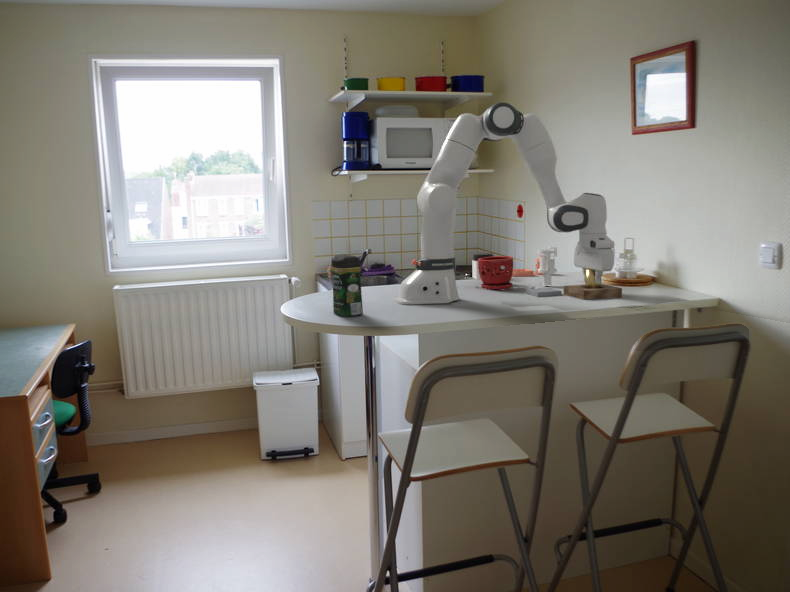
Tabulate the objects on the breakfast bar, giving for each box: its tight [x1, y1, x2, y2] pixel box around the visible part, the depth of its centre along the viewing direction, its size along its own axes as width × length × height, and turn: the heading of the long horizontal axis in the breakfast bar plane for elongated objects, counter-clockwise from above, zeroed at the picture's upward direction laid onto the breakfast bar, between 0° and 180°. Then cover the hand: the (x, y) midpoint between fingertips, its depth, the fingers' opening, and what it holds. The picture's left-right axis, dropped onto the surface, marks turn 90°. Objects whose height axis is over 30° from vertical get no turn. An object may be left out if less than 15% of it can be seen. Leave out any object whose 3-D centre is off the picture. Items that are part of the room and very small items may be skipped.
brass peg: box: [584, 269, 602, 289], centre depth 230 cm, size 5×5×9 cm
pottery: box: [507, 254, 544, 278], centre depth 280 cm, size 18×10×10 cm, turn 101°
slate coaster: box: [526, 287, 563, 298], centre depth 237 cm, size 9×9×2 cm
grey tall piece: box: [537, 246, 558, 286], centre depth 255 cm, size 7×7×15 cm
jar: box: [471, 252, 495, 280], centre depth 271 cm, size 9×8×12 cm
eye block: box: [563, 283, 623, 301], centre depth 230 cm, size 14×14×3 cm
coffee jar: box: [330, 254, 364, 318], centre depth 205 cm, size 10×8×19 cm
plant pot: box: [478, 255, 514, 290], centre depth 253 cm, size 13×13×12 cm
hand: (592, 282), depth 229 cm, fingers closed on brass peg, 5 cm apart
